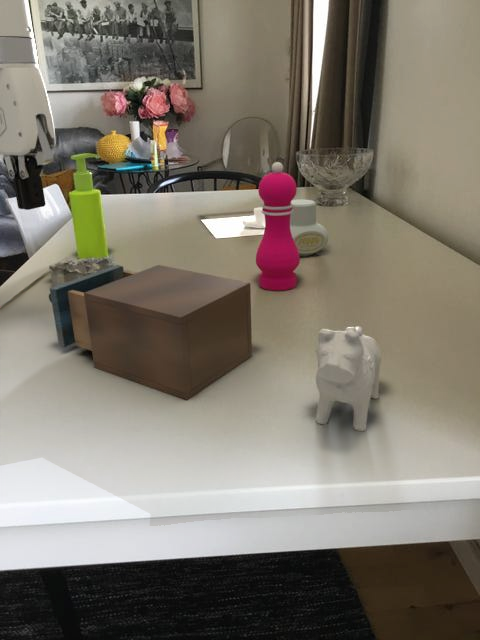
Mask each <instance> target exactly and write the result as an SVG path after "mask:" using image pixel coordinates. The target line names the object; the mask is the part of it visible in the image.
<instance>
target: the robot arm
mask: <svg viewBox="0 0 480 640" xmlns="http://www.w3.org/2000/svg"><path fill="white" fill-rule="evenodd" d="M56 139H57V138H56V131H55V124H54V117H53V112H52V109H51V105H50V100H49V96H48V91H47V89H46V85H45V81H44V78H43V75H42V71H41V69H40V66H39V59H38V53H37V48H36V42H35V35H34V30H33V23H32V17H31V10H30V5H29V0H0V163H1V164H3V165H4V166H6V168H7V173H8V175H9V177H10V178H11V179H12V183H13V187H14V193H15V199H16V204H17V208H18V209H19V210H25V211H29V210H33V209H34V210H35V209H38V208H43V207H45V206H46V198H45V193H44V186H43V181H42V177H43V176H44V166H45V165H48V164H50V163H52V162H54V156H53V152H52V151H53V150H54V149H55V148H56V144H57V143H56V141H57V140H56Z"/></svg>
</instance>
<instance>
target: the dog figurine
mask: <svg viewBox="0 0 480 640" xmlns="http://www.w3.org/2000/svg"><path fill="white" fill-rule="evenodd" d="M317 341H318V342H317V344H316V350H315V352H316V359H317V363H318V364H317V370H316V373H315V385H316V388H317V391H318V392H319V394H318V395H319V398H318V404H317V409H316V415H315V420H314V421H315V423H316V424H319V425H326V424H327V423H328V422H329V419H330V415H331V414H332V413H331V412H332V410H333V406H334V404H335V403H336V402H340V403H343V404H349V405H350V406H351V408H352V410H353V422H352V428H353V429H354V431H357V432H363V431H366V430H367V421H368V413H369V412H368V411H369V406H370V401H371V399H379V396H380V395H379V390H380V389H379V387H380V386H379V384H380V370H381V369H380V368H381V363H382V362H381V361H382V353H381V350H380V349H381V348H380V345H379V344H378V343H377V340H376V339H374V338H373V337H371V336H369V335H365V334H364V332H363V328H362V327H361V326H355V327H354V326H347V327H346V328H345V330H331V329H329V328H322V329H321V330H319V332H318V337H317Z"/></svg>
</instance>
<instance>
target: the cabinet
mask: <svg viewBox="0 0 480 640" xmlns="http://www.w3.org/2000/svg"><path fill="white" fill-rule="evenodd" d="M251 288H252V287H251V282H248V281H243V280H237V279H232V278H228V277H223V276H217V275H212V274H207V273H203V272H197V271H192V270H187V269H182V268H176V267H172V266H171V267H170V266H167V265H162V264H157V265H155V266H152V267H149V268H146V269H143V270H140V271H138V273H135V274H133V275H130V276H127V277H125V278H122V279H119V280H117V281H114V282H111V283H109V284H106V285H103V286H101V287H98V288H95V289H93V290H90V291H87V292H85V293H84V297H85V304H86V312H87V319H88V326H89V333H90V340H91V347H92V351H91V354H92V359H93V367H94V368H95V369H98V370H101V371H104V372H106V373H109V374H112V375H115V376H118V377H120V378H123V379H126V380H129V381H132V382H134V383H138V384H140V385H143V386H145V387H149V388H151V389H154V390H158V391H160V392H163V393H166V394H168V395H171V396H174V397H177V398H180V399H182V400H185V401H188V400H190V399H191V398H193V397H194V396H195V395H197V394H199V393H200V392H202V391H203V390H204V389H205V388H207V387H209V386H210V385H212V384H213V383H215V382H217V380H219V379H220V378H222V377H223V376H225V375H226V374H228V373H230V372H231V371H232V370H234V369H236V368H237V367H238V366H240V365H241V364H243V363H244V362H245V361H247V360H249V359H250V358H252V357H253V342H252V341H253V339H252V337H253V336H252V297H251V296H252V292H251Z"/></svg>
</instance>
